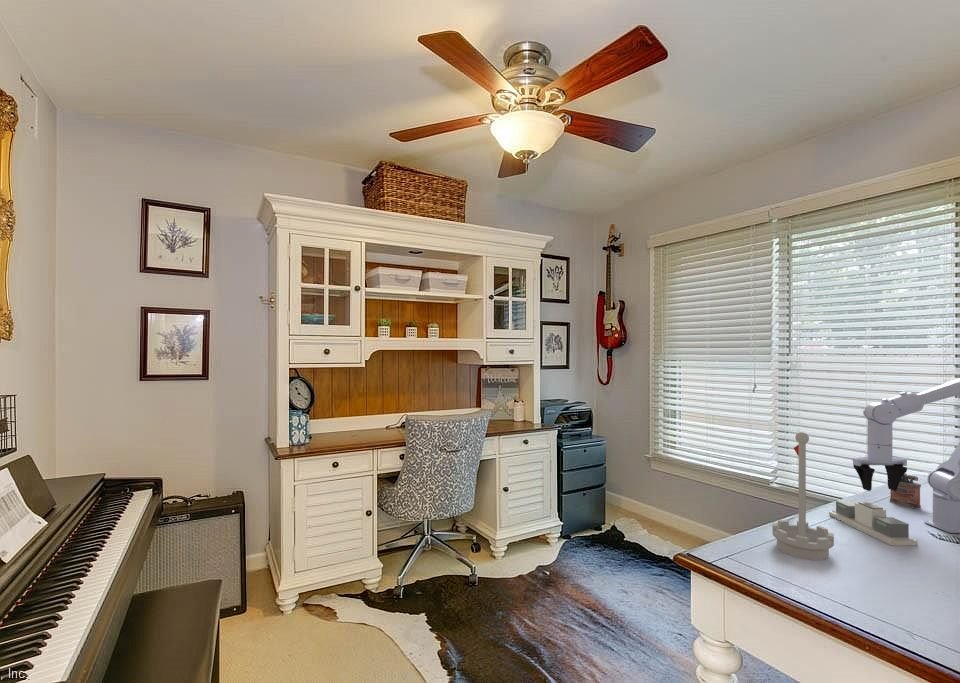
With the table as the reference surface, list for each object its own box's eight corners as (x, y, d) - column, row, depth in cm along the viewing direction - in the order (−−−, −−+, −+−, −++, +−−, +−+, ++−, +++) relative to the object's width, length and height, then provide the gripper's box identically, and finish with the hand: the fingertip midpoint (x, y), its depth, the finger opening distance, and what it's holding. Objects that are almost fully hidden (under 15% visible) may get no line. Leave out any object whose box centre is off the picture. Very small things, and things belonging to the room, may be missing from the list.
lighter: (887, 501, 161) (887, 471, 161) (893, 500, 163) (893, 470, 163) (917, 509, 154) (917, 477, 154) (923, 507, 156) (923, 476, 156)
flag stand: (844, 564, 116) (845, 438, 116) (784, 559, 119) (784, 436, 119) (818, 542, 129) (818, 428, 129) (764, 538, 131) (764, 426, 131)
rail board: (851, 515, 149) (851, 498, 149) (917, 545, 127) (917, 526, 127) (829, 515, 148) (829, 498, 148) (890, 545, 126) (890, 526, 126)
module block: (868, 520, 140) (868, 501, 140) (886, 528, 134) (886, 508, 134) (854, 520, 140) (854, 501, 140) (871, 528, 134) (871, 508, 134)
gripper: (892, 440, 147) (892, 485, 147) (845, 440, 147) (844, 485, 147) (913, 445, 140) (913, 493, 140) (863, 445, 140) (863, 493, 140)
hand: (879, 489), depth 143 cm, fingers open, 7 cm apart
